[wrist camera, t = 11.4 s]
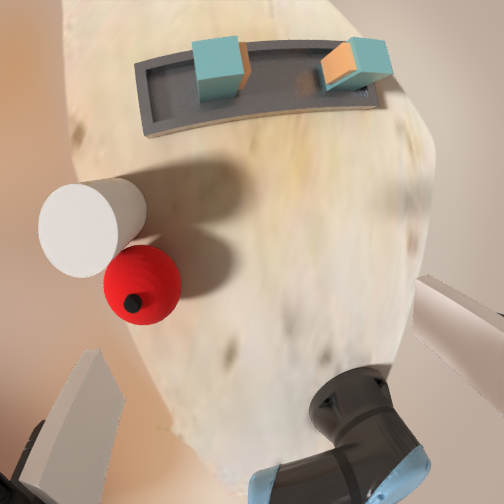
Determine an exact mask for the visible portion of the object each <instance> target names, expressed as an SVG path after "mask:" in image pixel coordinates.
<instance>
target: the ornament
mask: <svg viewBox="0 0 504 504" xmlns="http://www.w3.org/2000/svg"><path fill="white" fill-rule="evenodd" d="M104 293H105V297H106V299H107V302H108V304H109V306H110V307H111V309H112V310H113V311H114V312H115V313H116V314H117V315H118V316H119V317H120V318H122V319H123V320H125V321H127V322H129V323H132V324H136V325H150V324H154V323H157V322H159V321H162V320H163V319H164V318H166V317H167V316H168V315H169V314H170V313H171V312H172V311H173V310H174V309H175V307H176V305H177V303H178V301H179V298H180V294H181V278H180V274H179V271H178V268H177V267H176V265H175V263H174V262H173V260H172V259H171V258H170V257H169V256H168V255H167V254H166V253H164V252H163V251H161V250H160V249H158V248H155V247H152V246H148V245H134V246H131V247H128V248H126V249H124V250H122V251H121V252H120V253H119V254H118V255H117V256H116V257H115V258H114V259H113V260H112V261H111V262H110V263H109V265H108V267H107V269H106V271H105V275H104Z"/></svg>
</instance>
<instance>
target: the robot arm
mask: <svg viewBox="0 0 504 504" xmlns="http://www.w3.org/2000/svg"><path fill="white" fill-rule="evenodd" d="M412 334H414V335H415V336H416V337H417V338H418V339H419V340H420V341H422V342H423V343H424V344H425V345H426V346H427V347H429V348H430V349H431V350H432V351H433V352H434V353H435V354H436V355H438V356H439V357H440V358H441V359H442V360H443V361H444V362H445V363H447V364H448V365H449V366H450V367H451V368H452V369H453V370H454V371H456V372H457V373H458V374H459V375H460V376H461V377H462V378H463V379H464V380H466V381H467V382H468V383H469V384H470V385H471V386H472V387H473V388H474V389H475V390H476V391H477V392H478V393H479V394H481V395H482V396H483V397H484V398H485V399H486V400H487V401H488V402H489V403H490V404H491V405H492V406H493V407H494V408H495V409H496V410H497V411H498V412H500V413H501V414H502V415H503V416H504V315H503V314H499V313H496V312H494V311H492V310H491V309H489V308H487V307H486V306H484V305H482V304H481V303H479V302H477V301H475V300H474V299H472V298H470V297H468V296H467V295H465V294H463V293H461V292H460V291H458V290H456V289H454V288H452V287H450V286H449V285H447V284H445V283H443V282H442V281H439V280H438V279H436V278H434V277H432V276H430V275H425V276H423V277H419V278H416V283H415V301H414V313H413V324H412ZM124 403H125V398H124V396H123V394H122V392H121V390H120V388H119V386H118V385H117V383H116V381H115V379H114V377H113V375H112V373H111V371H110V369H109V367H108V365H107V363H106V360H105V359H104V357H103V354H102V352H101V350H100V349H92V350H84V352H83V353H82V355H81V357H80V359H79V360H78V362H77V364H76V366H75V367H74V369H73V371H72V372H71V374H70V376H69V378H68V379H67V381H66V383H65V385H64V387H63V389H62V390H61V392H60V394H59V396H58V398H57V399H56V402H55V403H54V405H53V407H52V409H51V411H50V413H49V415H48V417H47V419H46V420H42V421H41V422H40V423H39V424H38V425H37V426H36V427H35V429H34V430H33V432H32V434H31V436H30V438H29V442H27V444H26V446H25V450H24V451H23V453H22V455H21V457H20V459H19V461H18V464H17V466H16V468H15V470H14V473H13V475H12V478H11V480H10V481H9V480H8V479H7V478H6V477H5V476H4V475H3V474H2V473H1V472H0V504H100V503H101V498H102V493H103V487H104V483H105V479H106V474H107V470H108V465H109V461H110V457H111V452H112V449H113V445H114V440H115V437H116V433H117V429H118V425H119V421H120V417H121V414H122V411H123V407H124ZM309 414H310V417H311V420H312V422H313V424H314V426H315V427H316V428H317V429H318V430H319V431H320V432H321V433H322V434H323V435H324V436H325V437H326V438H327V439H329V440H330V441H331V442H332V443H333V444H334V446H335V448H334V449H332V450H329V451H326V452H323V453H320V454H317V455H314V456H310V457H307V458H304V459H300V460H297V461H293V462H290V463H286V464H278V465H277V466H274V467H271V468H267V469H264V470H260V471H257V472H256V473H254V474H253V475H252V477H251V479H250V481H249V486H248V504H397V503H398V502H399V501H401V500H402V499H404V498H405V497H406V496H408V495H409V494H410V493H411V492H412V491H414V490H415V489H416V488H417V487H418V486H419V485H420V484H421V483H422V482H423V481H424V479H425V478H426V476H427V475H428V473H429V471H430V468H431V462H430V459H429V458H428V456H427V454H426V453H425V451H424V449H423V446H422V445H420V443H419V442H418V441H417V439H416V438H415V436H414V435H413V434H412V432H411V431H410V430H409V429H408V427H407V426H406V424H405V423H404V422H403V420H402V419H401V418H400V417H399V415H398V414H397V412H396V411H395V409H394V408H393V404H392V400H391V396H390V392H389V388H388V385H387V382H386V381H385V379H384V378H383V377H382V375H381V374H380V373H379V372H378V371H376V370H374V369H370V368H359V369H354V370H350V371H348V372H345V373H343V374H341V375H339V376H337V377H335V378H333V379H332V380H330V381H329V382H328V383H326V384H325V385H324V386H323V387H322V388H321V389H320V390H319V391H318V392H317V393H316V395H315V396H314V398H313V399H312V401H311V404H310V407H309Z"/></svg>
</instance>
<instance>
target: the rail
mask: <svg viewBox="0 0 504 504" xmlns="http://www.w3.org/2000/svg"><path fill="white" fill-rule="evenodd" d="M343 42H346V41H330V40H276V41H259V42H247V43H246V46H247V51H248V57H249V62H250V67H251V73H250V75H249V77H248V80H247V82H246V84H245V86H244V88H243V89H241V90H238V91H237V93H236V96H235V97H233V98H226V99H219V100H213V101H207V102H202V103H200V98H199V92H198V86H197V79H196V73H195V65H194V57H193V50H190V51H185V52H180V53H175V54H171V55H166V56H162V57H158V58H154V59H150V60H146V61H142V62H139V63H135V64H134V67H135V76H136V84H137V92H138V100H139V107H140V114H141V120H142V127H143V133H144V136H145V137H147V138H149V139H150V138H154V137H158V136H162V135H166V134H170V133H175V132H179V131H184V130H188V129H193V128H198V127H203V126H208V125H214V124H219V123H225V122H231V121H237V120H244V119H250V118H258V117H265V116H274V115H283V114H293V113H304V112H317V111H335V110H368V109H371V108H375V107H378V106H379V103H378V98H377V93H376V88H375V84H374V82H373V83H371V84H369V85H366V86H364V87H362V88H360V89H357V90H355V91H327V88H326V83H325V79H324V74H323V70H322V65H321V60H322V59H323V58H325V57H326V56H327V55H328V54H329V53H331V52H332V51H333V50H334V49H335V48H337V47H338V46H339V45H340V44H342V43H343Z"/></svg>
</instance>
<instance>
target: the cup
mask: <svg viewBox="0 0 504 504" xmlns="http://www.w3.org/2000/svg"><path fill="white" fill-rule="evenodd" d="M146 216H147V206H146V201H145V198H144V196H143V194H142V192H141V191H140V190H139V188H138V187H137V186H136V185H135V184H133V183H132V182H130V181H128V180H126V179H123V178H109V179H102V180H94V181H87V182H81V183H75V184H68V185H65V186H62V187H60V188H58V189H57V190H55V191H54V192H53V193H52V194H51V195H50V196H49V197H48V198H47V200H46V202H45V203H44V205H43V207H42V209H41V212H40V216H39V223H38V232H39V239H40V243H41V246H42V249H43V251H44V253H45V254H46V256H47V258H48V259H49V260H50V262H51V263H52V264H53V265H54V266H55V267H56V268H57V269H58V270H60V271H61V272H63V273H65V274H67V275H69V276H73V277H80V278H84V277H90V276H93V275H95V274H97V273H99V272H101V271H102V270H103V269H104V268H105V267H106V266H107V265H108V264H109V263H110V262H111V261H112V260H113V259H114V258H115V257H116V256H117V255H118V254H119V253H120V252H121V251H122V250H123V249H124V248H125V247H126V246H127V245H128V244H129V243H130V242H131V241H132V240H133V239H134V238H135V237H136V236H137V235H138V234H139V232H140V231H141V230H142V228H143V226H144V224H145V221H146Z"/></svg>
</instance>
